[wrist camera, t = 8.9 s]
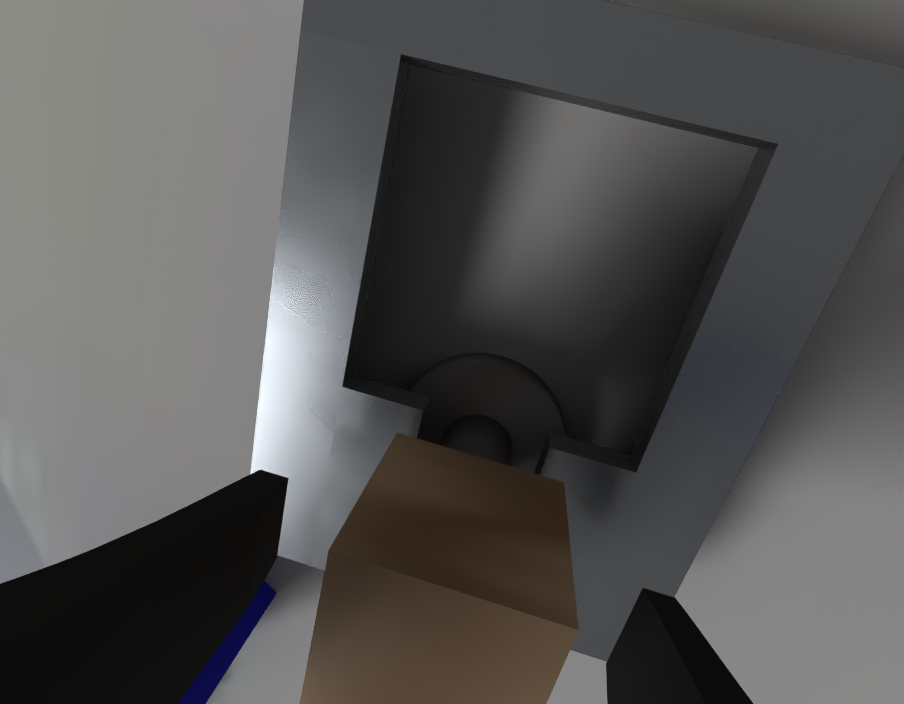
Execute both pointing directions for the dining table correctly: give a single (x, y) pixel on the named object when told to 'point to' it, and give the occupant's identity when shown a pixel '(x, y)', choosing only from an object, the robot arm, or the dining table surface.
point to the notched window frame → (711, 316)
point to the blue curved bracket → (228, 649)
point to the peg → (453, 555)
